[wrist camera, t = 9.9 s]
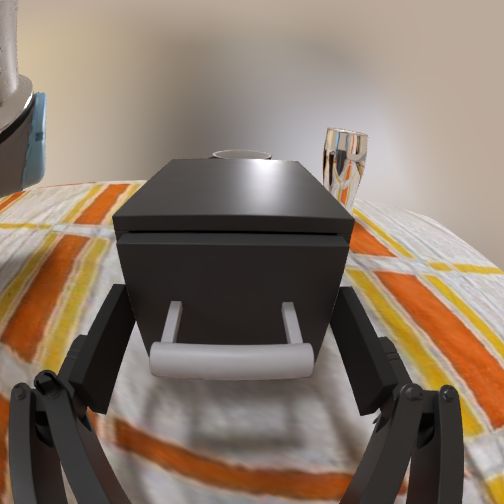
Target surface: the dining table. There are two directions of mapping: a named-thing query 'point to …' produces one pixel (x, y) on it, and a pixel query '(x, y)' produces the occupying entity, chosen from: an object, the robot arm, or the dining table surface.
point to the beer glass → (344, 164)
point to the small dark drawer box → (233, 199)
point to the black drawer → (232, 300)
